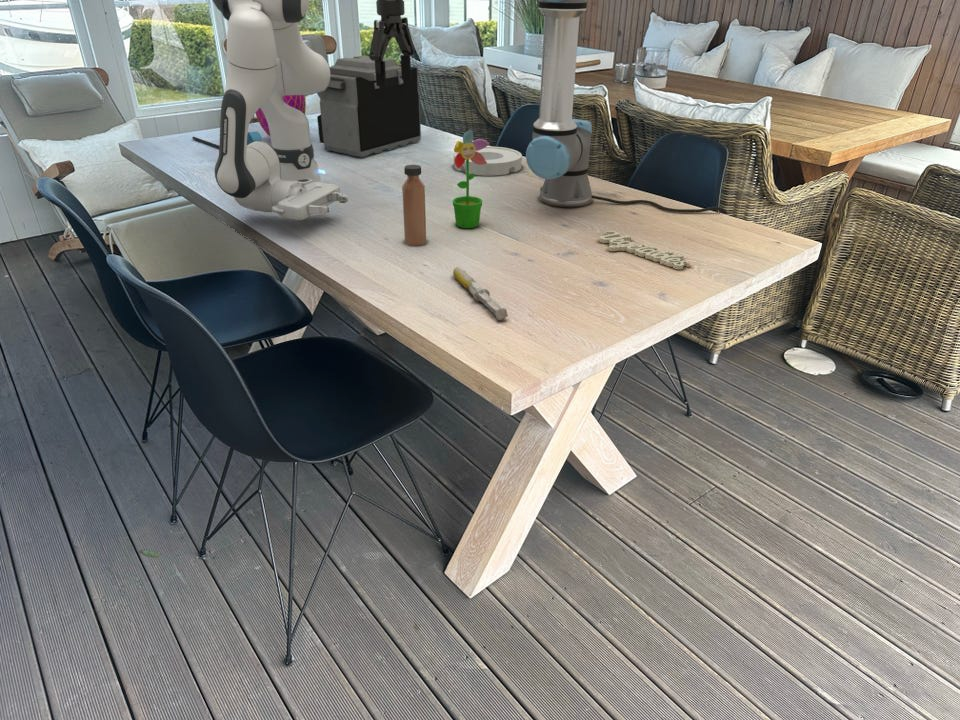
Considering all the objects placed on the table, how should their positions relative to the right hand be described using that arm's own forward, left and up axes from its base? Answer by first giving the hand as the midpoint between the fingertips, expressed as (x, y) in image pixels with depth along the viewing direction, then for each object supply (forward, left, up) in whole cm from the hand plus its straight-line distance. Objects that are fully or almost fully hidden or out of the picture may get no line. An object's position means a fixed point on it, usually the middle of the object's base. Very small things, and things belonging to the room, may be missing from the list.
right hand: (394, 83), depth 195 cm
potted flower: (-33, +20, -31) cm, 49 cm away
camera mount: (+56, +3, -31) cm, 64 cm away
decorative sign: (-79, +19, -31) cm, 87 cm away
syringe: (-55, +59, -31) cm, 86 cm away
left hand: (-5, +39, -24) cm, 46 cm away
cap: (-27, +37, -12) cm, 47 cm away
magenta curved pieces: (+73, -35, -31) cm, 86 cm away
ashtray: (-13, -36, -31) cm, 49 cm away
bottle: (-27, +37, -31) cm, 55 cm away
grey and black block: (+38, -43, -31) cm, 65 cm away
